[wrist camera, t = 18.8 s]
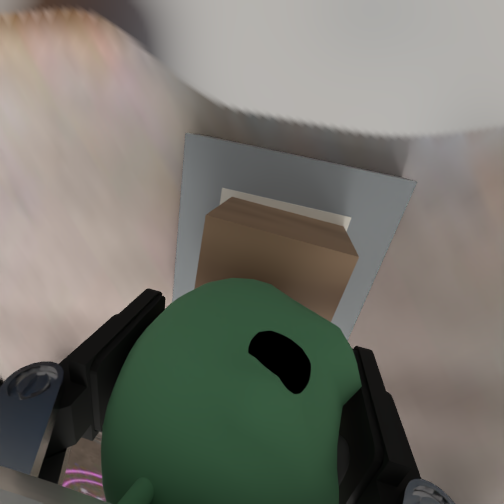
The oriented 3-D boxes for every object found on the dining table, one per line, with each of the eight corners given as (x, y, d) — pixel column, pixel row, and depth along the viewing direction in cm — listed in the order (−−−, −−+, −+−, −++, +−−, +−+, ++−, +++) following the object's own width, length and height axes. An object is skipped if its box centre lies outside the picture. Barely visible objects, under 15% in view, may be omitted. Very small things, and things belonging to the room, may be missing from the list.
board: (334, 339, 23) (338, 361, 20) (184, 298, 24) (171, 314, 22) (402, 177, 17) (417, 182, 15) (200, 134, 18) (185, 132, 16)
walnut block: (308, 318, 19) (309, 371, 15) (213, 290, 20) (187, 332, 15) (343, 226, 16) (359, 257, 12) (231, 196, 17) (205, 214, 12)
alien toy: (362, 351, 12) (523, 916, 3) (223, 379, 15) (93, 750, 6) (311, 218, 11) (358, 669, 1) (162, 274, 13) (-181, 579, 4)
